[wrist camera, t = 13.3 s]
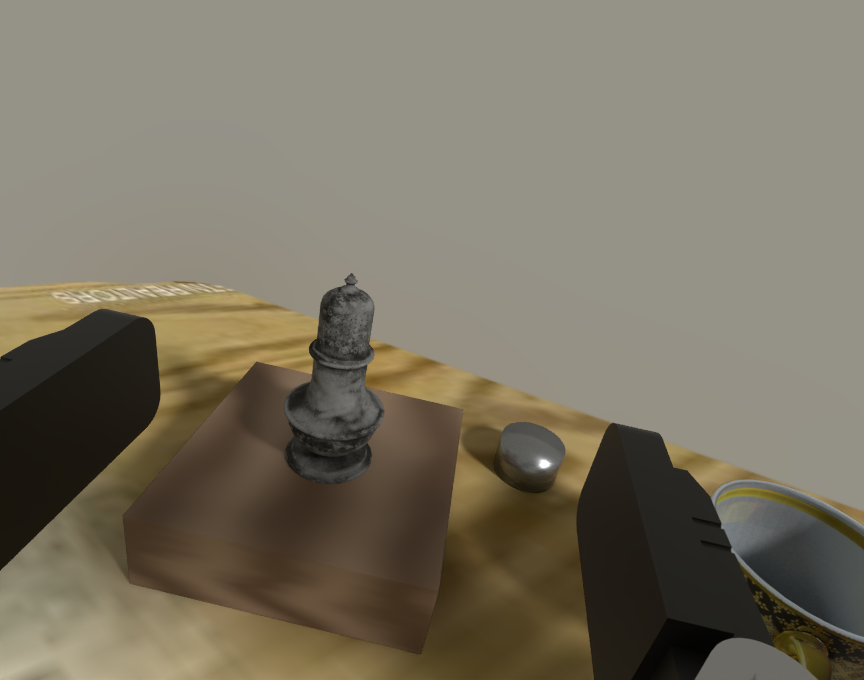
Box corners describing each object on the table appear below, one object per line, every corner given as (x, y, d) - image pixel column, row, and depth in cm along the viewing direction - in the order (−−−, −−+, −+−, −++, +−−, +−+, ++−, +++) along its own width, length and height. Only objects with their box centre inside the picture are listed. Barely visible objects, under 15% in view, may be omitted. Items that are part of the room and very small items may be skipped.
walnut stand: (449, 460, 43) (463, 409, 41) (420, 654, 29) (438, 591, 26) (254, 415, 43) (256, 361, 41) (129, 583, 29) (122, 516, 27)
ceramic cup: (655, 567, 37) (717, 454, 33) (818, 654, 33) (914, 540, 29) (610, 741, 27) (692, 609, 22) (841, 896, 23) (998, 776, 18)
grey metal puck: (552, 458, 46) (562, 430, 44) (556, 500, 41) (568, 470, 40) (494, 445, 46) (502, 416, 45) (492, 485, 42) (501, 454, 40)
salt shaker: (394, 469, 33) (430, 291, 28) (306, 500, 30) (327, 303, 24) (347, 415, 37) (370, 250, 32) (264, 437, 34) (274, 255, 28)
